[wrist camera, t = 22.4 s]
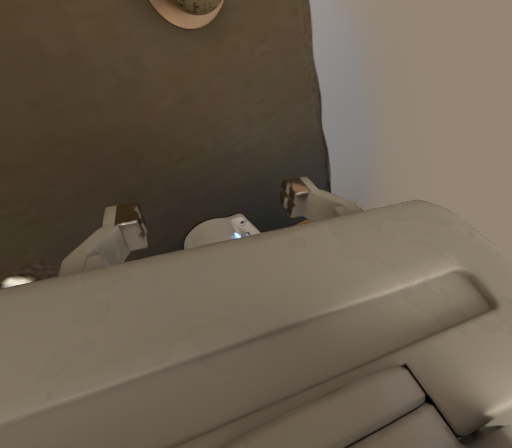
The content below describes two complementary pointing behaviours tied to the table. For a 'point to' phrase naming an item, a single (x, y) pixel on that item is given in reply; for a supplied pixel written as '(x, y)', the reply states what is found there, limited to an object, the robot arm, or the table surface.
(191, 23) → the wooden coaster
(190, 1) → the decorative egg
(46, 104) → the table surface
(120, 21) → the table surface
